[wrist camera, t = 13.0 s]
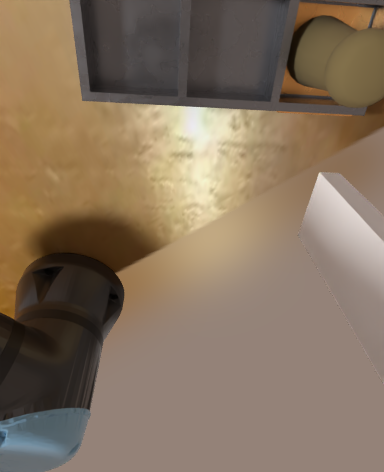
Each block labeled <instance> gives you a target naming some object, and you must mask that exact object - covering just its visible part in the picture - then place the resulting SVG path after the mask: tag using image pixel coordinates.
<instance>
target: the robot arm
mask: <svg viewBox="0 0 384 472" xmlns="http://www.w3.org/2000/svg"><path fill="white" fill-rule="evenodd" d="M298 236H299V238H300V240H301V242H302V243H303V245H304V246H305V249H306V250H307V252H308V254H309V255H310V257H311V259H312V261H313V262H314V264H315V266H316V268H317V270H318V271H319V273H320V275H321V276H322V278H323V280H324V282H325V283H326V285H327V287H328V289H329V290H330V292H331V294H332V296H333V297H334V299H335V301H336V303H337V304H338V306H339V308H340V310H341V311H342V313H343V315H344V317H345V318H346V320H347V322H348V323H349V325H350V327H351V329H352V330H353V332H354V334H355V336H356V338H357V339H358V341H359V343H360V345H361V346H362V348H363V350H364V352H365V353H366V355H367V357H368V359H369V360H370V362H371V364H372V366H373V367H374V369H375V371H376V373H377V374H378V376H379V378H380V380H381V381H382V383H383V385H384V216H383V215H382V214H381V213H380V212H379V211H378V210H377V209H376V208H375V207H374V206H373V205H372V204H371V203H370V202H369V201H368V200H367V199H366V198H365V197H364V196H363V195H362V194H361V193H360V192H359V191H357V190H356V189H355V188H354V187H353V186H352V185H351V184H350V183H349V182H348V181H347V180H346V179H345V178H344V177H343V176H342V175H341V174H340V173H325V172H320V173H319V175H318V178H317V181H316V184H315V187H314V190H313V193H312V196H311V199H310V202H309V204H308V207H307V210H306V213H305V216H304V219H303V222H302V225H301V228H300V231H299V234H298ZM123 301H124V289H123V285H122V283H121V281H120V279H119V278H118V276H117V275H116V274H115V273H114V272H113V271H112V270H111V269H110V268H108V267H107V266H106V265H104V264H102V263H101V262H99V261H97V260H95V259H92V258H89V257H86V256H82V255H77V254H68V253H61V254H52V255H48V256H45V257H42V258H39V259H38V260H36V261H34V262H33V263H31V264H30V265H29V266H28V267H27V269H26V270H25V272H24V273H23V275H22V277H21V279H20V281H19V283H18V286H17V290H16V304H15V320H14V319H12V318H10V317H8V316H6V315H4V314H2V313H0V472H45V471H48V470H51V469H54V468H57V467H59V466H61V465H63V464H65V463H66V462H68V461H69V460H70V459H71V458H72V457H74V456H75V454H76V453H77V452H78V450H79V448H80V446H81V443H82V440H83V436H84V433H85V429H86V426H87V422H88V419H89V418H90V407H91V402H92V397H93V392H94V386H95V382H96V377H97V372H98V367H99V362H100V356H101V351H102V346H103V342H104V339H105V338H106V337H107V335H108V333H109V332H110V330H111V329H112V327H113V325H114V324H115V322H116V321H117V319H118V317H119V316H120V313H121V310H122V307H123Z"/></svg>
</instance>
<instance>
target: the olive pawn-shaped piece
mask: <svg viewBox="0 0 384 472" xmlns="http://www.w3.org/2000/svg"><path fill="white" fill-rule="evenodd" d="M287 69H288V71H289V73H290V76H291V77H292V78H293V79H294V80H295V81H296V82H297V83H299V84H301V85H303V86H306V87H311V88H315V89H320V90H325V91H328V93H329V95H330V96H331V97H332V98H333V99H334V100H335V101H336V102H337V103H338V104H341V105H343V106H345V107H349V108H363V107H367V106H370V105H373V104H374V103H376V102H378V101H380V100H381V99H383V98H384V29H375V28H367V29H363V30H360V31H358V30H356V29H354V28H353V27H351V26H349V25H348V24H346V23H344V22H342V21H341V20H339V19H337V18H335V17H333V16H327V15H321V16H317V17H314V18H311V19H310V20H308V21H307V22H305V23H304V24H302V25H301V26H300V28H299V29H298V30H297V31H296V32H295V33H294V35H293V37H292V41H291V46H290V50H289V55H288V60H287Z"/></svg>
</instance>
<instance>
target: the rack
mask: <svg viewBox="0 0 384 472" xmlns="http://www.w3.org/2000/svg"><path fill="white" fill-rule="evenodd" d="M70 8H71V15H72V23H73V31H74V39H75V47H76V54H77V62H78V70H79V78H80V86H81V93H82V101H97V102H116V103H135V104H154V105H173V106H192V107H210V108H229V109H248V110H267V111H277V112H280V113H299V114H318V115H337V116H353V115H362V116H364V115H365V112H366V109H367V107H363V108H349V107H345V106H343V105H341V104H338V103H337V102H336V101H335V100H334V99H333V98H332V97H331V96H330V95H329V93H328V91H325V90H320V89H315V88H311V87H306V86H303V85H301V84H299V83H297V82H296V81H295V80H294V79H293V78H292V77H291V76H290V73H289V71H288V69H287V60H288V55H289V50H290V46H291V41H292V37H293V35H294V33H295V32H296V31H297V30H298V29H299V28H300V26H301V25H302V24H304V23H305V22H307V21H308V20H310V19H311V18H314V17H317V16H321V15H327V16H333V17H335V18H337V19H339V20H341V21H342V22H344V23H346V24H348V25H349V26H351V27H353V28H354V29H356V30H358V31H360V30H363V29H367V28H375V29H384V0H70Z"/></svg>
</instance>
